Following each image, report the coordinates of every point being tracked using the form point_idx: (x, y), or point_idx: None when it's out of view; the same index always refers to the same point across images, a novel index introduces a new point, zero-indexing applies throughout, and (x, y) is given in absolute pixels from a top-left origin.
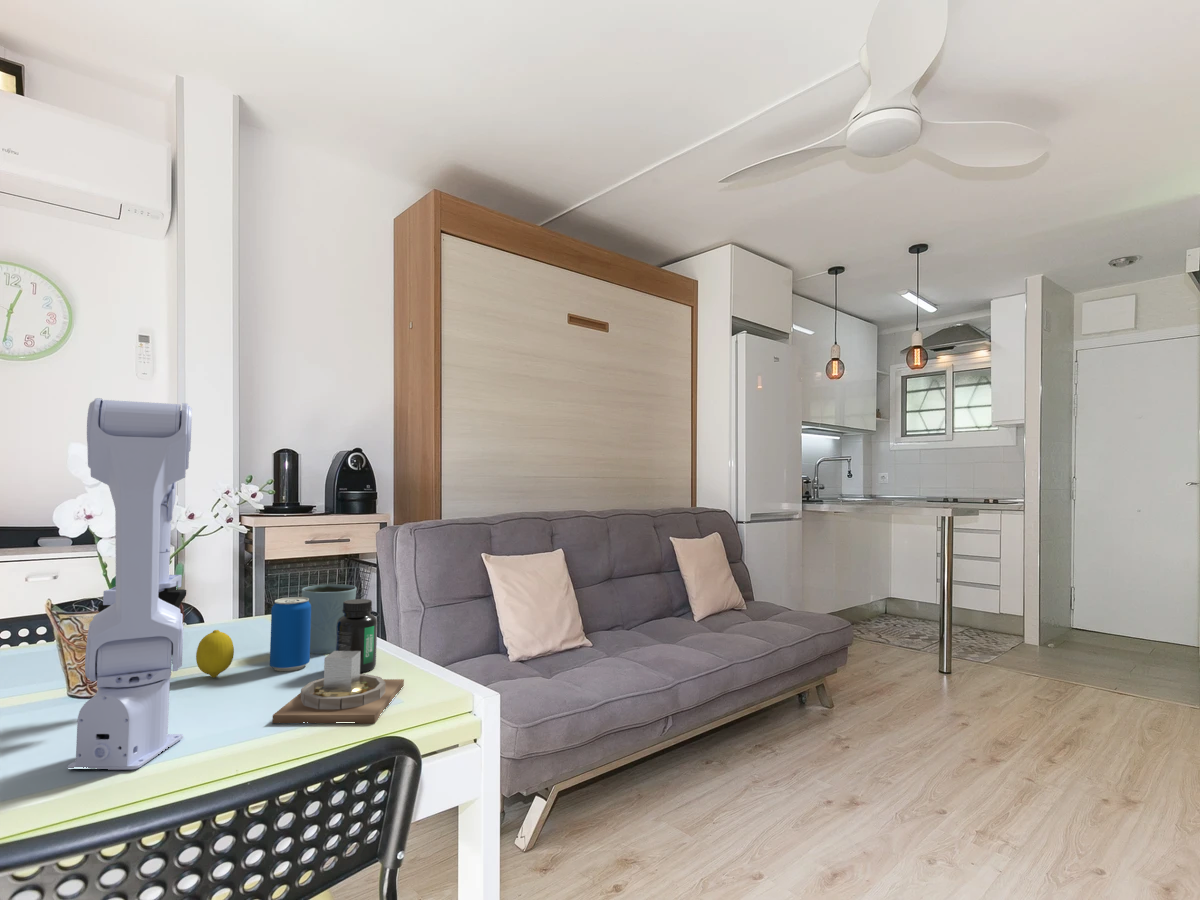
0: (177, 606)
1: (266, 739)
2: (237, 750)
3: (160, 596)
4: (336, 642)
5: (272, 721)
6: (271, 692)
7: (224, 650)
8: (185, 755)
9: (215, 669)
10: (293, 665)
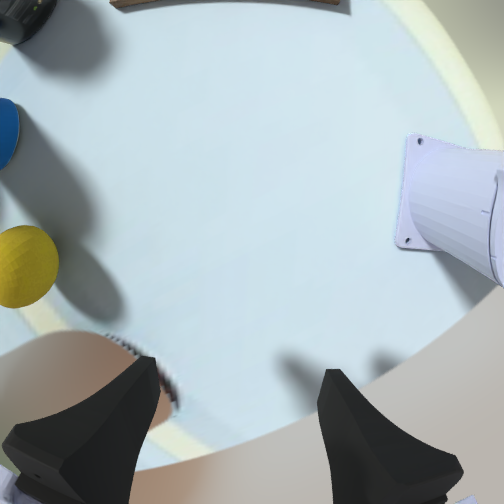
0: (72, 416)
1: (402, 8)
2: (441, 42)
3: (102, 499)
4: (1, 18)
5: (338, 3)
6: (135, 72)
7: (20, 239)
8: (459, 109)
9: (53, 243)
10: (15, 108)
